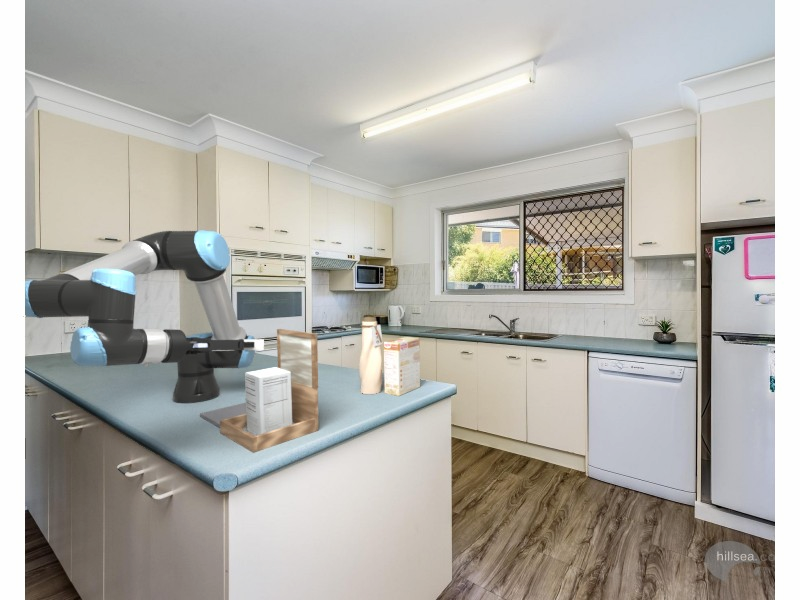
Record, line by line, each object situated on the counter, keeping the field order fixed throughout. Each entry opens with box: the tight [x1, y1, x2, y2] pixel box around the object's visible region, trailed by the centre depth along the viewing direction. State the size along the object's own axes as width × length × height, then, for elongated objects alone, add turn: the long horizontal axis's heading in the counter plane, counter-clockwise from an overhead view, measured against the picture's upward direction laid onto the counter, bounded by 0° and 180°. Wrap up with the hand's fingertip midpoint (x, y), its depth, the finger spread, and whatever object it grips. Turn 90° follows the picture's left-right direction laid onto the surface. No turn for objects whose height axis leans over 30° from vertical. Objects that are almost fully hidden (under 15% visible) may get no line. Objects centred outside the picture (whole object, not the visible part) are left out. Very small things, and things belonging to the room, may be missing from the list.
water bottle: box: [358, 316, 384, 395], centre depth 146 cm, size 10×9×28 cm
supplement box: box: [244, 366, 293, 436], centre depth 107 cm, size 10×9×17 cm
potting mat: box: [199, 402, 247, 429], centre depth 121 cm, size 16×16×1 cm
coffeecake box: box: [383, 336, 421, 397], centre depth 148 cm, size 15×7×20 cm, turn 145°
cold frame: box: [219, 328, 320, 454], centre depth 107 cm, size 19×19×27 cm
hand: (247, 345), depth 104 cm, fingers open, 13 cm apart
